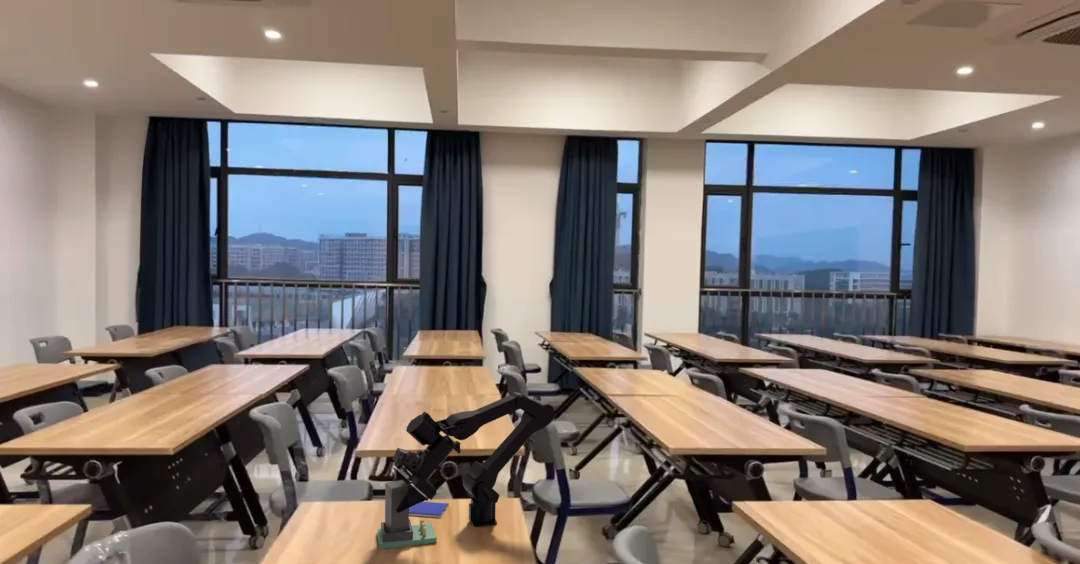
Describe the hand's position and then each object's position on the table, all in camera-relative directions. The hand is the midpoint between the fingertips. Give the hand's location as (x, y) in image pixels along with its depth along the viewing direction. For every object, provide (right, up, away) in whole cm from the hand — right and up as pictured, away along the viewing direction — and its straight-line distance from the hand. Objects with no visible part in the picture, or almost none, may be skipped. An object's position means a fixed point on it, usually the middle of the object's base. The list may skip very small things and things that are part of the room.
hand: (391, 505), depth 161 cm
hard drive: (+5, -9, +20) cm, 22 cm away
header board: (+3, -9, +2) cm, 10 cm away
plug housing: (+1, -8, +1) cm, 8 cm away
